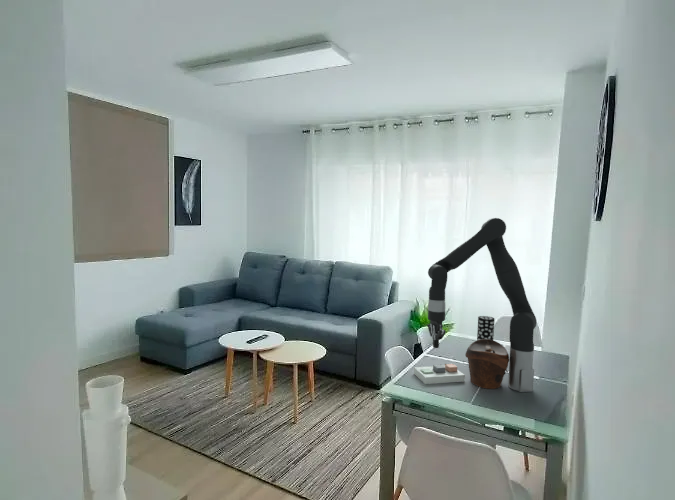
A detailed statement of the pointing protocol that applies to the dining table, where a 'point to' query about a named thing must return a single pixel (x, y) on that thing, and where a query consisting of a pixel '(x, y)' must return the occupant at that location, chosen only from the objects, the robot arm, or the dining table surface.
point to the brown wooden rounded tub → (487, 363)
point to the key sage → (426, 371)
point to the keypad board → (438, 376)
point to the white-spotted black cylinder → (485, 328)
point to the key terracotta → (450, 367)
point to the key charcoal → (438, 368)
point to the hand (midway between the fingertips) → (435, 347)
